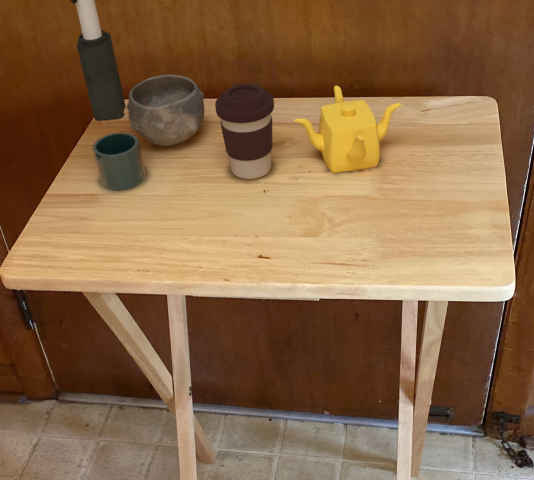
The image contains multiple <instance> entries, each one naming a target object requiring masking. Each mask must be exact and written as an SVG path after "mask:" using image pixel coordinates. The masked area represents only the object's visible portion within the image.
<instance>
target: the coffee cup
mask: <svg viewBox="0 0 534 480" xmlns="http://www.w3.org/2000/svg"><path fill="white" fill-rule="evenodd" d="M274 98H275V97H274V95H273V94H272V93H270V92H269V91H267V90H266V89H264V88H262V87H261V86H260V85H259V84H256V83H248V82H247V83H245V82H244V83H238V84H233V85H231V86H229V87H228V88H226V89H225V90H224V92H223V93H222V94H220V95H219V96H218V97H217V98H216V100H215V103H214V107H215V113H216V115H217V117H218V118H219V119H220V128H221V132H222V139H223V142H224V148H225V152H226V154H227V156H228V160H229V166H230V171H231V173H232V174H233V175H234V176H235V177H237V178H239V179H243V180H255V179H259V178H262V177H264V176H266V175H267V174H268V173H269V172H270V171H271V170H272V150H273V116H272V113H273V112H274V109H275V100H274Z"/></svg>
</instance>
